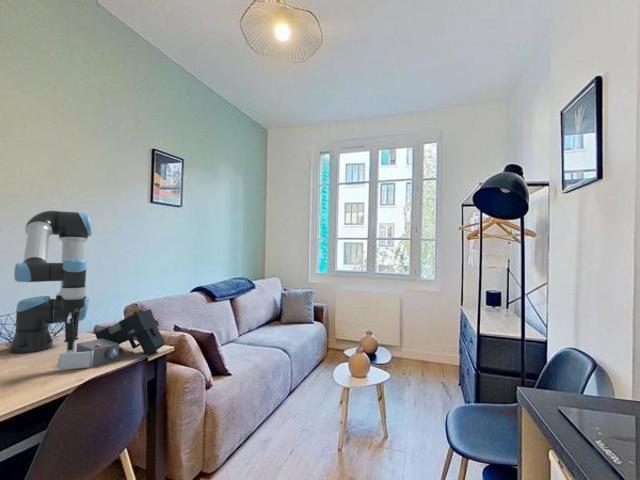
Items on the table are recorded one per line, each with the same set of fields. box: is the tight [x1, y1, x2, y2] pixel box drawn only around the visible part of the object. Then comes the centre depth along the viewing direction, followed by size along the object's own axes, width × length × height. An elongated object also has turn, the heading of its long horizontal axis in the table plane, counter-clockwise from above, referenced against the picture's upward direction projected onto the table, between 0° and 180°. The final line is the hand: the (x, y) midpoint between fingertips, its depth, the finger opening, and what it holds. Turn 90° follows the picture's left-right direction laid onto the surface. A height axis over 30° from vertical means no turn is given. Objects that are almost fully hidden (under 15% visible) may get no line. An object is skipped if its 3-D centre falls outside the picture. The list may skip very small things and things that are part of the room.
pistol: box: [94, 308, 166, 356], centre depth 154 cm, size 10×26×20 cm, turn 79°
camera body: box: [75, 338, 120, 368], centre depth 139 cm, size 16×10×8 cm, turn 59°
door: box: [57, 350, 94, 371], centre depth 130 cm, size 11×2×6 cm, turn 114°
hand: (70, 357), depth 131 cm, fingers closed
